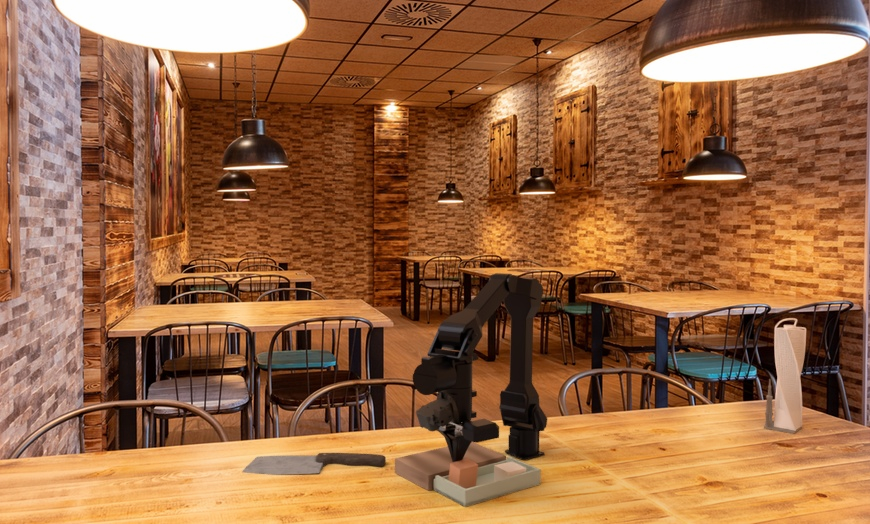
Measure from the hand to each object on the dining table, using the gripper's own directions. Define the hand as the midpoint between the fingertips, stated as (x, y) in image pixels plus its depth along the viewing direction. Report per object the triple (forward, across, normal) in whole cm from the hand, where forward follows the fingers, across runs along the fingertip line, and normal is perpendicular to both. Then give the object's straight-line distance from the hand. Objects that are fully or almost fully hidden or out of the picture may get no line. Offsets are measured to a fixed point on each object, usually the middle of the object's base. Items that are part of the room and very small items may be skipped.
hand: (456, 465), depth 130 cm
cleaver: (+5, -27, -17) cm, 32 cm away
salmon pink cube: (+1, 0, 0) cm, 1 cm away
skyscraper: (+4, +17, +94) cm, 95 cm away
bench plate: (+4, -8, +4) cm, 10 cm away
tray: (+4, +4, +5) cm, 8 cm away
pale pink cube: (+1, +5, +10) cm, 11 cm away
